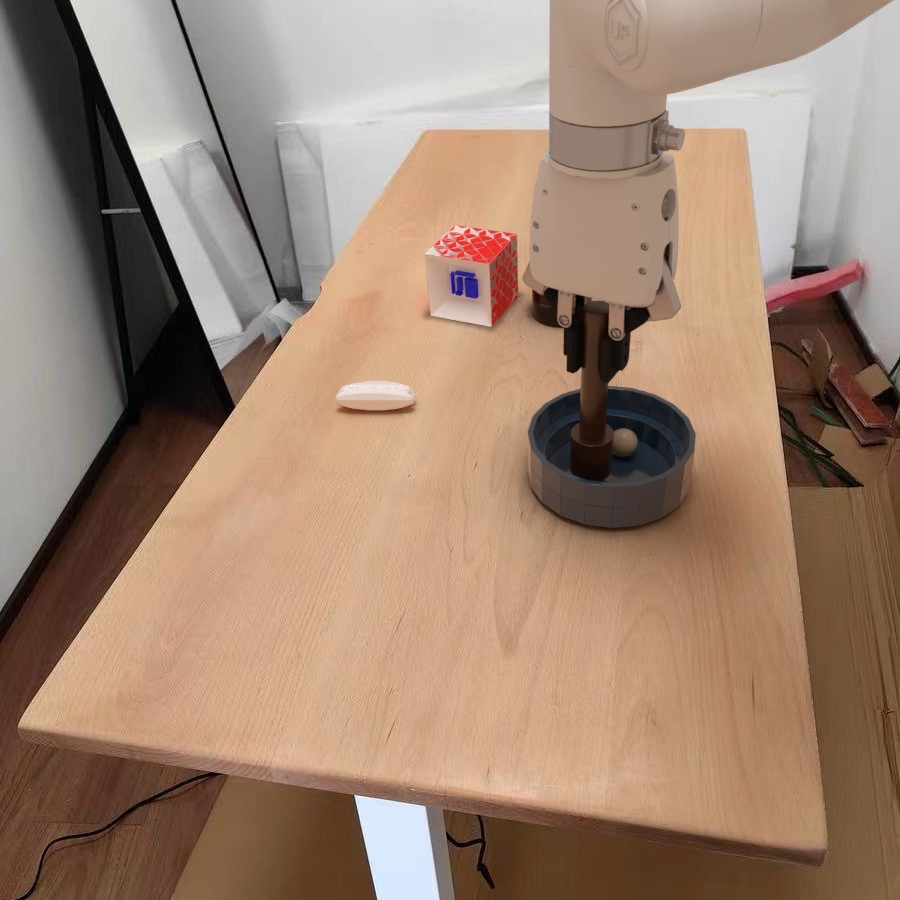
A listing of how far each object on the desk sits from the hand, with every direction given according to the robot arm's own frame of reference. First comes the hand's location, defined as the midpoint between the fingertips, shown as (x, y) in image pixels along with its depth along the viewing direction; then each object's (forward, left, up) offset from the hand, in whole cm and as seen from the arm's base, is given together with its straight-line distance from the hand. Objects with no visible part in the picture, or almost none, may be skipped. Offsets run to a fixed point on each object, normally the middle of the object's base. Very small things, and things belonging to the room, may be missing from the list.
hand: (595, 367), depth 69 cm
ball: (-1, -4, -10) cm, 11 cm away
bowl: (-1, -1, -12) cm, 12 cm away
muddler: (0, 0, -11) cm, 11 cm away
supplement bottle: (+16, -25, -12) cm, 32 cm away
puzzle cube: (+26, -22, -12) cm, 36 cm away
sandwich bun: (+24, 0, -12) cm, 27 cm away
